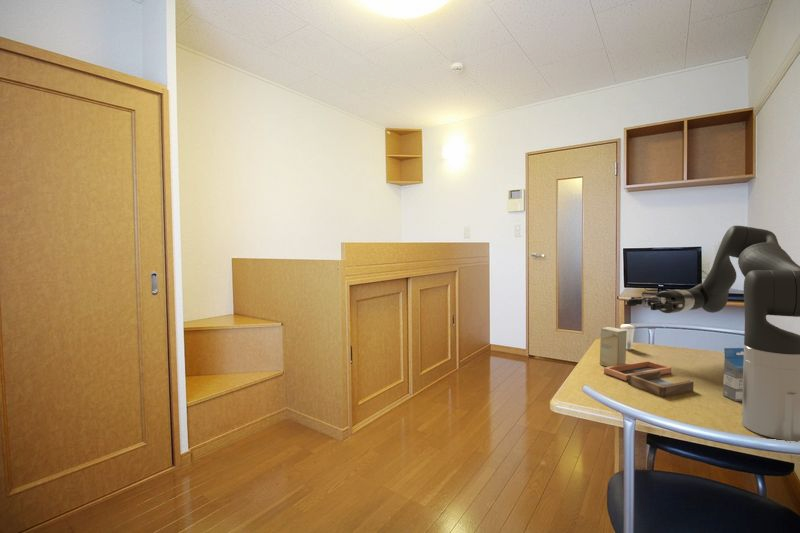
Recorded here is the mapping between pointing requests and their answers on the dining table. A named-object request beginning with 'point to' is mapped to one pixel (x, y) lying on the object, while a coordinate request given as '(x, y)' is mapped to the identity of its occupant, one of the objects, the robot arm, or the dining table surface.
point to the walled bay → (659, 384)
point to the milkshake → (628, 335)
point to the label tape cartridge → (733, 374)
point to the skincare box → (613, 346)
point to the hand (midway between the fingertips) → (639, 304)
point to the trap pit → (635, 369)
